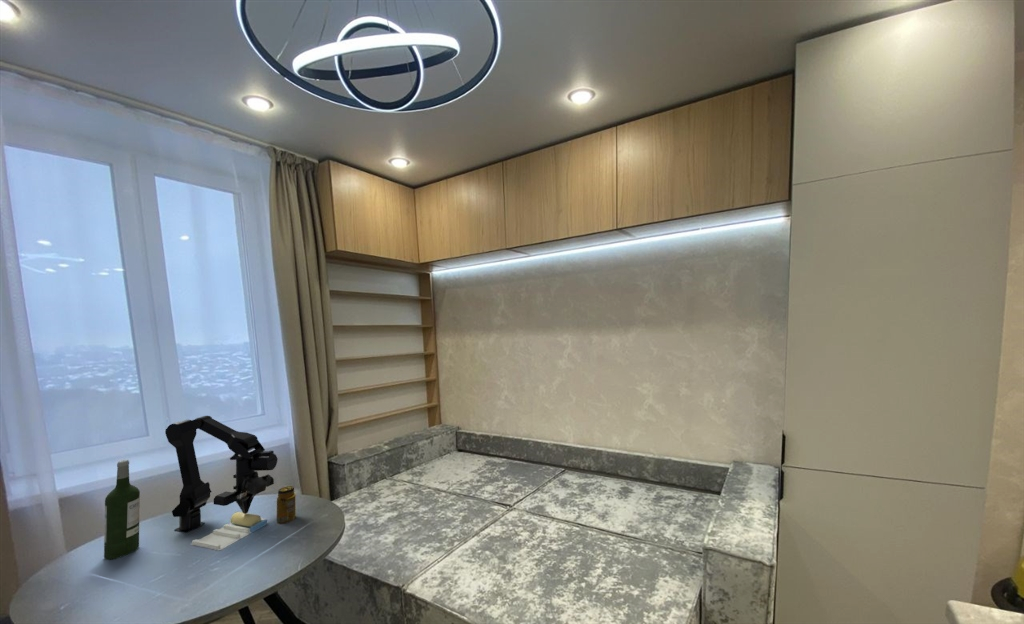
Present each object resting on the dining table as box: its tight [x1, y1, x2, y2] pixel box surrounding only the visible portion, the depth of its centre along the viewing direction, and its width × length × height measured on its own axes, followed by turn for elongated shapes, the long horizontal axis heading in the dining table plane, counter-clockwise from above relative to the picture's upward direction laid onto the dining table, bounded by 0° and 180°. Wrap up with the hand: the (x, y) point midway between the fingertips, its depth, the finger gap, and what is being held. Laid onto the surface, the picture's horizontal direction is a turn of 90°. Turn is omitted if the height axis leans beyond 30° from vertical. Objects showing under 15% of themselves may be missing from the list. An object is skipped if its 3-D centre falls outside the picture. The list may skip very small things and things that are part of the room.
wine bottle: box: [103, 459, 141, 561], centre depth 121 cm, size 8×8×30 cm
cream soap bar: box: [229, 511, 262, 527], centre depth 134 cm, size 10×4×4 cm, turn 73°
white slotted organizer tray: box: [190, 517, 270, 551], centre depth 130 cm, size 14×18×2 cm
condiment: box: [276, 485, 297, 525], centre depth 137 cm, size 7×8×12 cm
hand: (245, 513), depth 135 cm, fingers closed
